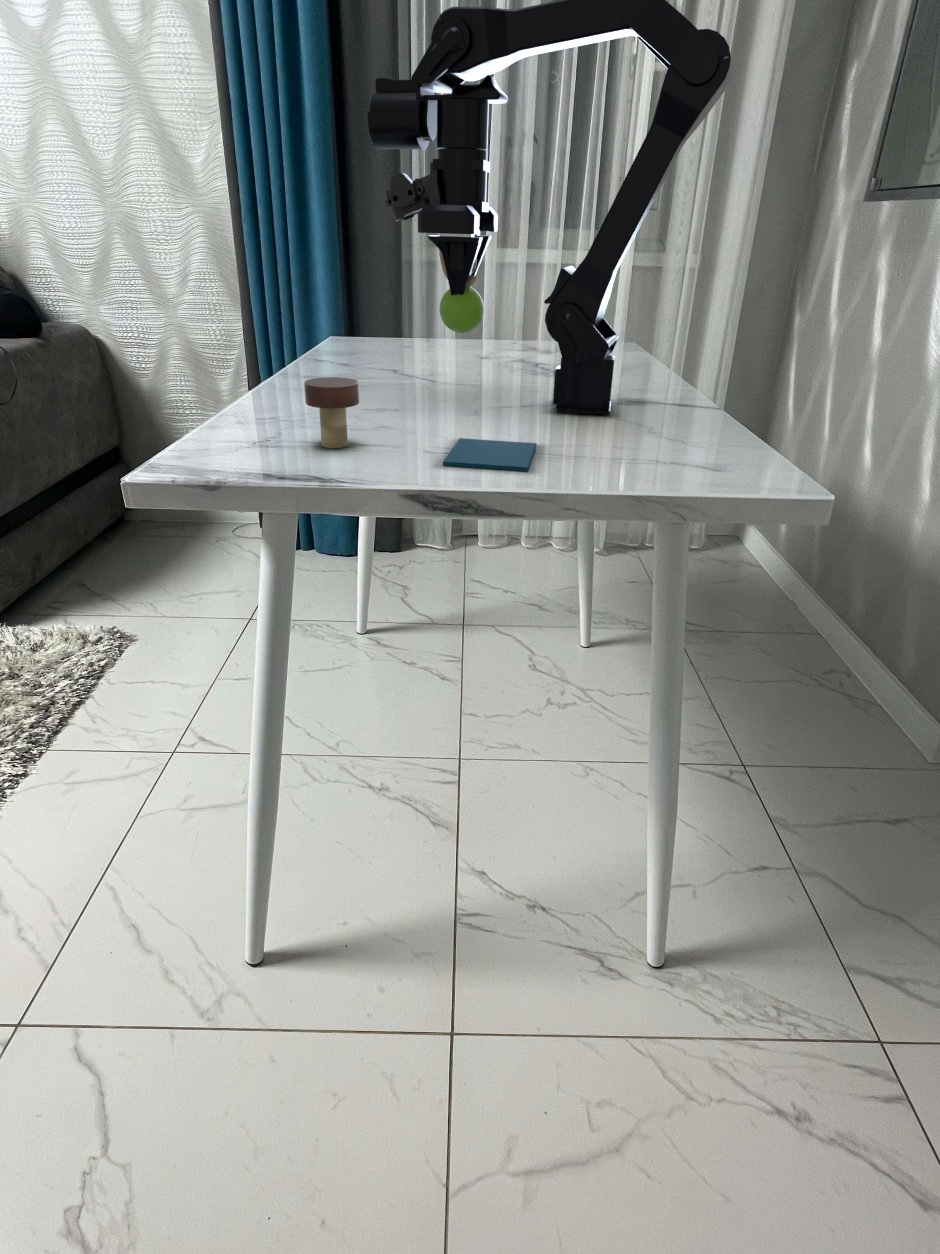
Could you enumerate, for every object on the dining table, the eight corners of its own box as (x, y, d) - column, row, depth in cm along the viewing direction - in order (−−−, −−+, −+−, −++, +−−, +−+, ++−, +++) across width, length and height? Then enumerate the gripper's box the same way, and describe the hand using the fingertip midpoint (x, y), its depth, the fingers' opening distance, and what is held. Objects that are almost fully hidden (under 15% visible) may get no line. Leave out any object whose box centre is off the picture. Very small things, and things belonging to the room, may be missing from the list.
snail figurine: (456, 327, 104) (453, 223, 98) (493, 331, 100) (492, 223, 94) (425, 332, 100) (421, 224, 95) (462, 337, 96) (460, 224, 91)
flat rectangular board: (536, 447, 83) (536, 443, 83) (527, 471, 75) (527, 467, 75) (459, 441, 84) (459, 438, 84) (442, 465, 76) (442, 461, 76)
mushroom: (366, 440, 84) (364, 378, 81) (352, 453, 79) (349, 388, 76) (318, 437, 84) (314, 375, 81) (301, 450, 80) (296, 385, 77)
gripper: (411, 154, 100) (412, 290, 107) (369, 142, 84) (373, 303, 91) (500, 156, 99) (495, 293, 106) (475, 144, 82) (471, 308, 89)
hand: (459, 299), depth 98 cm, fingers closed on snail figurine, 3 cm apart
